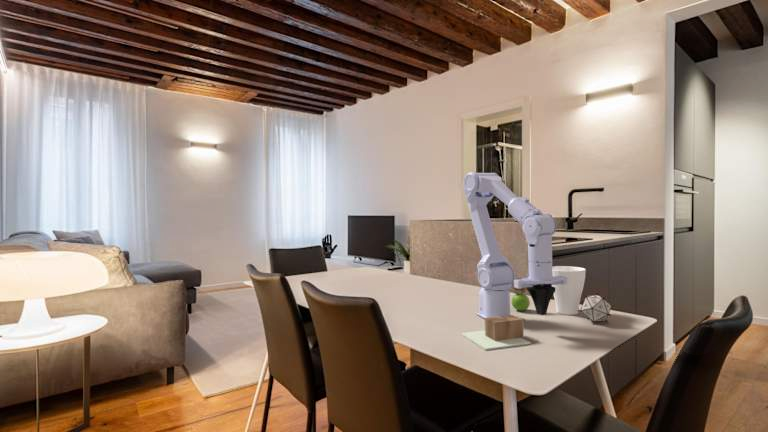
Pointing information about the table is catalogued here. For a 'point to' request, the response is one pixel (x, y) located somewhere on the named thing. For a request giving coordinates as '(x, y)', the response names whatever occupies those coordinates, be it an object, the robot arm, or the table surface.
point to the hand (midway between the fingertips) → (541, 314)
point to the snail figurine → (520, 298)
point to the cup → (569, 289)
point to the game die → (596, 308)
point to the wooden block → (504, 327)
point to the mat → (492, 341)
